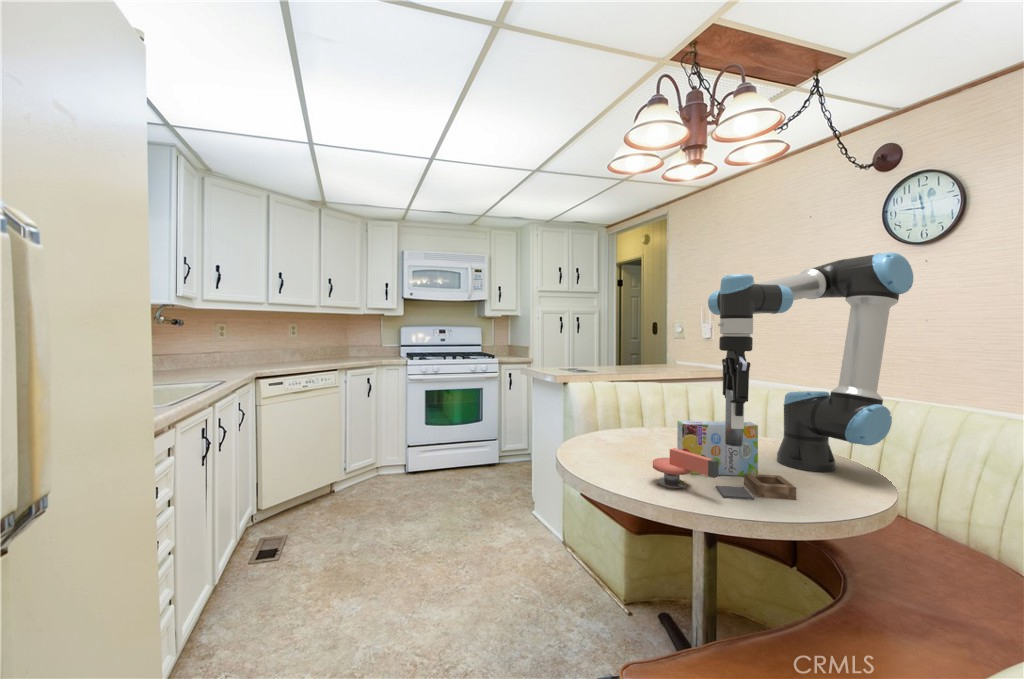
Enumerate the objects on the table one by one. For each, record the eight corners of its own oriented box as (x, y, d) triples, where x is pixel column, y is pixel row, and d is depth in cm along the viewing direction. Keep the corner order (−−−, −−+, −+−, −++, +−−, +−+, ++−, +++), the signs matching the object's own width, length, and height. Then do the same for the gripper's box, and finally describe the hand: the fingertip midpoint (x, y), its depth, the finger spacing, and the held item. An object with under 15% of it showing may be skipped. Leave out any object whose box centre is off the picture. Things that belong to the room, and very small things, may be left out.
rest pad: (743, 489, 112) (743, 487, 112) (753, 499, 105) (753, 497, 105) (715, 487, 113) (715, 485, 113) (723, 497, 106) (723, 495, 106)
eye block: (780, 486, 114) (780, 475, 114) (796, 499, 105) (796, 487, 105) (744, 484, 115) (744, 473, 115) (757, 497, 106) (757, 485, 106)
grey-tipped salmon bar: (728, 479, 107) (728, 458, 106) (703, 487, 101) (703, 464, 101) (668, 460, 122) (669, 442, 122) (644, 466, 117) (645, 446, 117)
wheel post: (682, 480, 118) (682, 466, 118) (688, 489, 111) (688, 474, 111) (656, 478, 119) (656, 464, 119) (660, 488, 112) (660, 473, 112)
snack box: (749, 471, 127) (750, 421, 126) (758, 477, 121) (759, 425, 121) (676, 468, 129) (677, 419, 129) (681, 474, 123) (682, 423, 123)
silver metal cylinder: (739, 442, 110) (740, 389, 110) (745, 446, 106) (746, 391, 106) (723, 442, 111) (723, 389, 111) (728, 446, 107) (729, 391, 107)
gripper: (710, 335, 117) (709, 419, 117) (731, 335, 100) (729, 433, 101) (739, 335, 116) (738, 420, 116) (765, 336, 99) (763, 435, 99)
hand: (734, 426), depth 108 cm, fingers closed on silver metal cylinder, 4 cm apart
